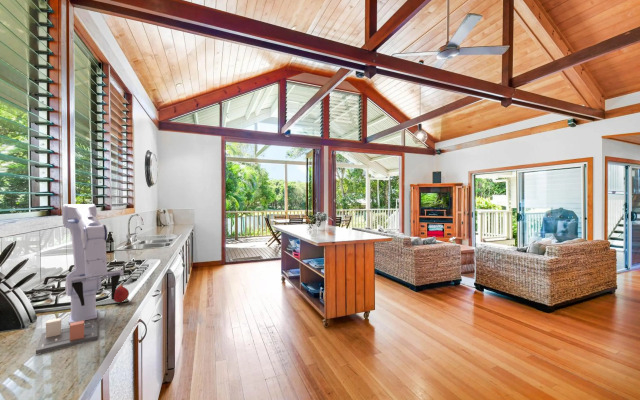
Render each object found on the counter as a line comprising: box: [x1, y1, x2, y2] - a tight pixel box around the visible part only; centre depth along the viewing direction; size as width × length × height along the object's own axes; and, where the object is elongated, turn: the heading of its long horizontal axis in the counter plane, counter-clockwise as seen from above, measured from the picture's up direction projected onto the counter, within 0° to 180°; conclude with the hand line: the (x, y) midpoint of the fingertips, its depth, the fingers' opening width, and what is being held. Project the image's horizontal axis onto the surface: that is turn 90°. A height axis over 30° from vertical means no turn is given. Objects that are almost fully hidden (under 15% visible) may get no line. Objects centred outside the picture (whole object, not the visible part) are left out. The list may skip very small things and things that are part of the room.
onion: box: [112, 284, 130, 303], centre depth 121 cm, size 6×6×8 cm
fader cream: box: [45, 317, 62, 338], centre depth 91 cm, size 3×3×5 cm
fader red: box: [69, 320, 85, 341], centre depth 89 cm, size 3×3×5 cm
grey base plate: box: [35, 321, 98, 355], centre depth 91 cm, size 13×14×1 cm
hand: (98, 302), depth 92 cm, fingers open, 7 cm apart
